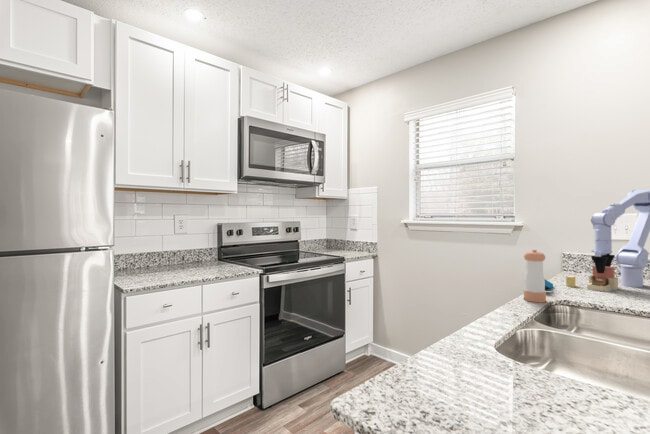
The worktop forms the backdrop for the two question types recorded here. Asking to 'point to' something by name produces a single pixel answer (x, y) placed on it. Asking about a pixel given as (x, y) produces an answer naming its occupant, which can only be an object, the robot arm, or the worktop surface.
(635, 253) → the robot arm
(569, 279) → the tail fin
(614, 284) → the jig
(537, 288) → the salt shaker
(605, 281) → the brown curved piece
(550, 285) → the lever
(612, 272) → the pink flat block
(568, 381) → the worktop surface
